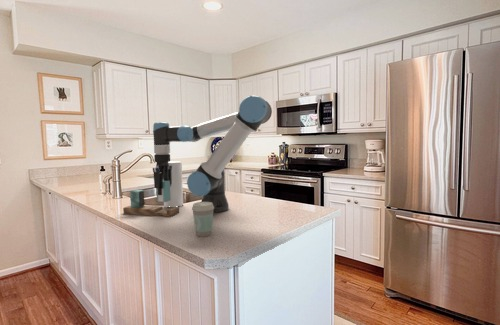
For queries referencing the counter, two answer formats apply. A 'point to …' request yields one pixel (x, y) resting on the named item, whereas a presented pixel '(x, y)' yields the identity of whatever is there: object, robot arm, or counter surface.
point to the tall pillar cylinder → (175, 185)
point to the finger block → (165, 191)
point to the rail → (142, 209)
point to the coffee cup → (203, 218)
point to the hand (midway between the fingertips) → (163, 200)
